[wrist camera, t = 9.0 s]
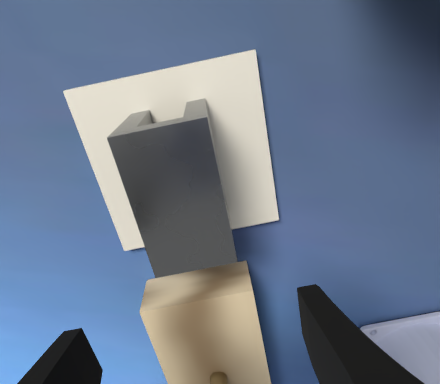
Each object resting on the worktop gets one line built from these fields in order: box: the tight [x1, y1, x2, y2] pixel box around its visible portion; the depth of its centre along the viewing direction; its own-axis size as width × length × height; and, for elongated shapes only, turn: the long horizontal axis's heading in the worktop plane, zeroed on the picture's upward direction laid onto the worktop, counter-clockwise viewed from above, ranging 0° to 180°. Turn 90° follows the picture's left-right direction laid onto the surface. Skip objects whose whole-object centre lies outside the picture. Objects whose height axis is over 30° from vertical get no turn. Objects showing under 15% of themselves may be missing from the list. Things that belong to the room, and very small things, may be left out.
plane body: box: [140, 261, 271, 384], centre depth 23 cm, size 7×14×6 cm, turn 11°
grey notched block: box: [107, 98, 238, 278], centre depth 16 cm, size 4×7×5 cm, turn 11°
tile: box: [63, 50, 279, 251], centre depth 19 cm, size 10×10×1 cm
